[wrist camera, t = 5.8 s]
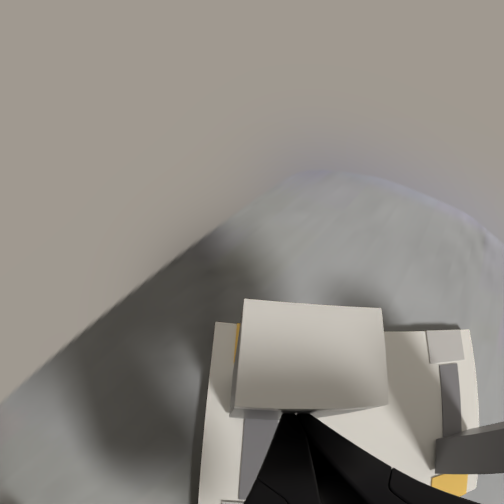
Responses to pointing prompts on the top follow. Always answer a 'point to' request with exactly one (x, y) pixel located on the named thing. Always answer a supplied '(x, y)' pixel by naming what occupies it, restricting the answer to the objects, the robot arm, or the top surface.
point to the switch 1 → (308, 360)
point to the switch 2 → (471, 451)
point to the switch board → (353, 414)
